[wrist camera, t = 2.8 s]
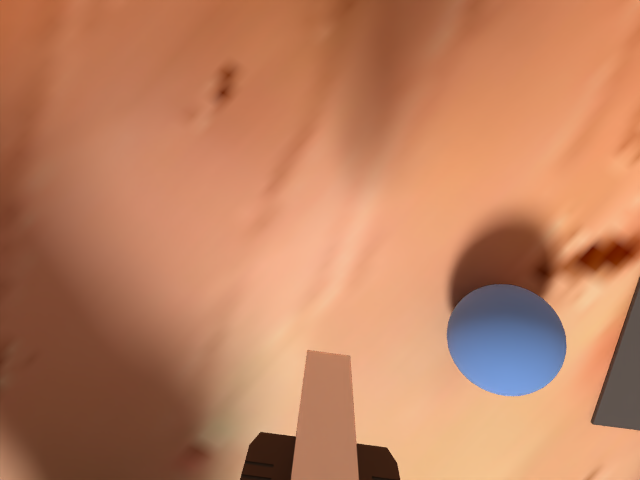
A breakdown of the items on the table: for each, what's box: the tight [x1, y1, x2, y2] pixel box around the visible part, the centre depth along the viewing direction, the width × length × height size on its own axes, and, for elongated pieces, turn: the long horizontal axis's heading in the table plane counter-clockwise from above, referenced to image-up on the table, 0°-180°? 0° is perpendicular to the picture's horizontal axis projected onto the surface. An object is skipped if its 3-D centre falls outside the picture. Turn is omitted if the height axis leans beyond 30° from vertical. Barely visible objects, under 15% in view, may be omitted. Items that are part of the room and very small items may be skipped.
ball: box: [447, 284, 566, 396], centre depth 21 cm, size 6×6×6 cm
